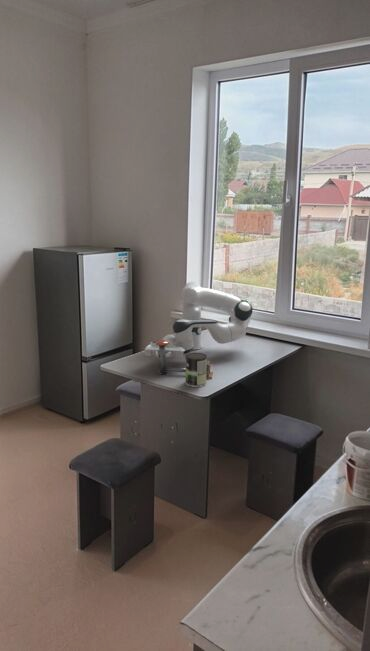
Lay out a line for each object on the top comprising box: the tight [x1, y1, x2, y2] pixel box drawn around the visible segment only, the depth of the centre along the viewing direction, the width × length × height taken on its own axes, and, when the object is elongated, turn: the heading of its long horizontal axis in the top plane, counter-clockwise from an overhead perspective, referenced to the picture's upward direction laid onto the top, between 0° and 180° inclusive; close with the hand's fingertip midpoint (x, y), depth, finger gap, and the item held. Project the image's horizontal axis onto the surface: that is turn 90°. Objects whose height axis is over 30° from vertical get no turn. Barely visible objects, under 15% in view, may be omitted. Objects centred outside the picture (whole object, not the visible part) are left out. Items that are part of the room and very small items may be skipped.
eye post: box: [206, 360, 214, 380], centre depth 252 cm, size 7×8×7 cm
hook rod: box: [155, 339, 186, 375], centre depth 252 cm, size 22×6×17 cm, turn 82°
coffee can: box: [185, 352, 208, 388], centre depth 241 cm, size 10×10×14 cm
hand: (161, 355), depth 252 cm, fingers closed on hook rod, 3 cm apart
